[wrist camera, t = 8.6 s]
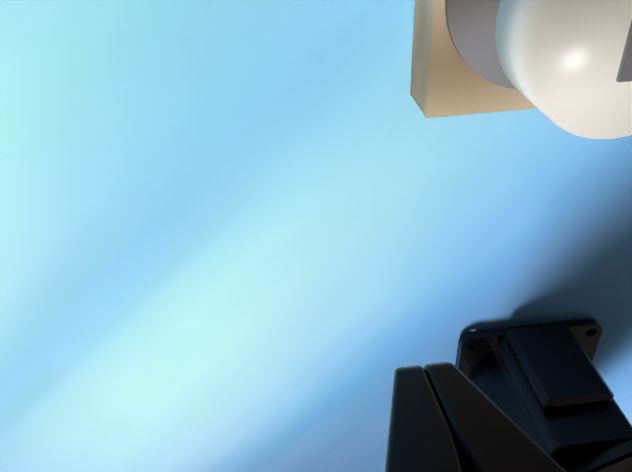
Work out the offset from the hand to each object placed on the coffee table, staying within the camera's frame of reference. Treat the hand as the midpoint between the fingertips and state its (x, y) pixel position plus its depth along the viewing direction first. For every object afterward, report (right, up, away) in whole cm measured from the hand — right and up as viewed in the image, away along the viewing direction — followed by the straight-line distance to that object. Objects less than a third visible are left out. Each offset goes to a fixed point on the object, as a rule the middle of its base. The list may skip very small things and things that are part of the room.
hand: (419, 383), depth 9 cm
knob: (+5, +9, +7) cm, 12 cm away
